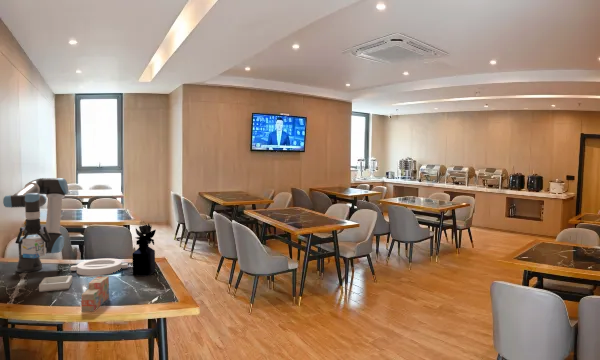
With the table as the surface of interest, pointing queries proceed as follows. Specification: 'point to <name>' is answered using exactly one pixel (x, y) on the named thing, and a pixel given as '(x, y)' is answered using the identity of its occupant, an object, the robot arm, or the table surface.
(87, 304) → the stack of blocks
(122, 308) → the table surface
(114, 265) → the ring with crossbar
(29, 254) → the ink box
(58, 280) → the box
